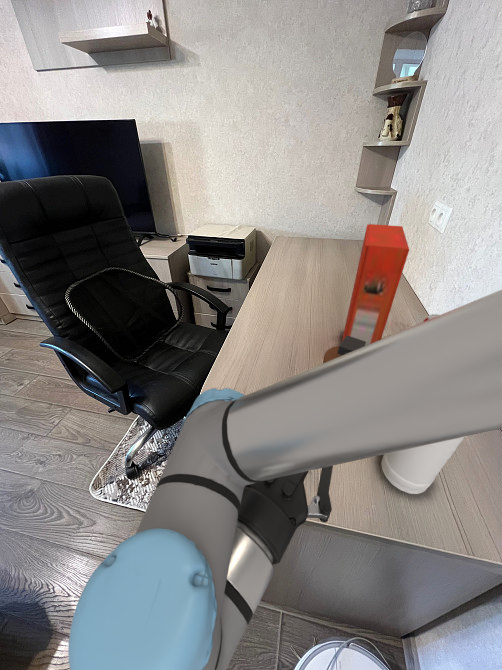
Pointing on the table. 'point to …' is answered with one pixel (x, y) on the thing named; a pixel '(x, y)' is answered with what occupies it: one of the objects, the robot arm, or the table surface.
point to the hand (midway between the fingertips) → (330, 403)
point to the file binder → (376, 281)
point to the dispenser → (343, 348)
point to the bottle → (417, 465)
